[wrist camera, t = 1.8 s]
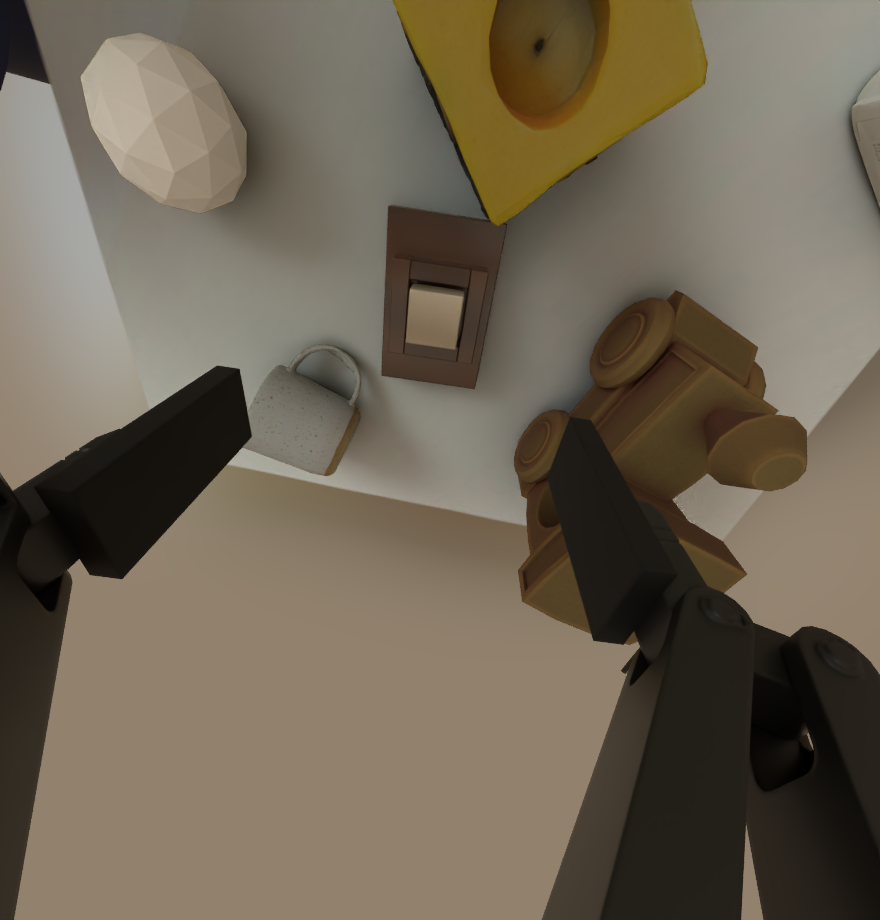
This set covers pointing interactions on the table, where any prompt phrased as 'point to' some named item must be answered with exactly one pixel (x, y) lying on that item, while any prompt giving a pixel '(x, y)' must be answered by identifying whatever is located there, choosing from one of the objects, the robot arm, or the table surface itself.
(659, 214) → the table surface
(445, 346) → the beige square block
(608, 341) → the wooden toy train
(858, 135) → the photo printer
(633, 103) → the candle
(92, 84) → the geometric ball
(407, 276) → the brown stepped block
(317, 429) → the ceramic mug
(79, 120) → the table surface
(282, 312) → the table surface
